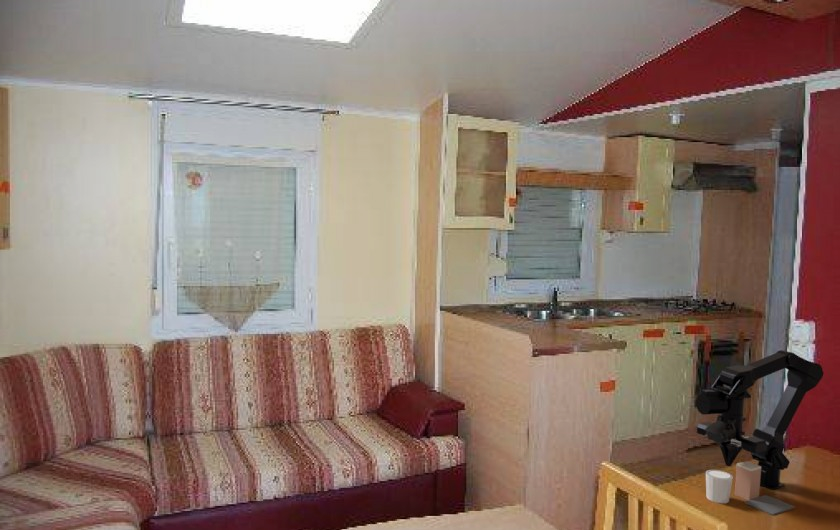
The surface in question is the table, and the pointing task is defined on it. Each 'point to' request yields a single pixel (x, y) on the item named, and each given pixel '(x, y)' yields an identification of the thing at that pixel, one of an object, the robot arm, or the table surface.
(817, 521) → the table surface
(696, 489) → the table surface
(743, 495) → the block
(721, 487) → the white cup
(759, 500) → the mat
